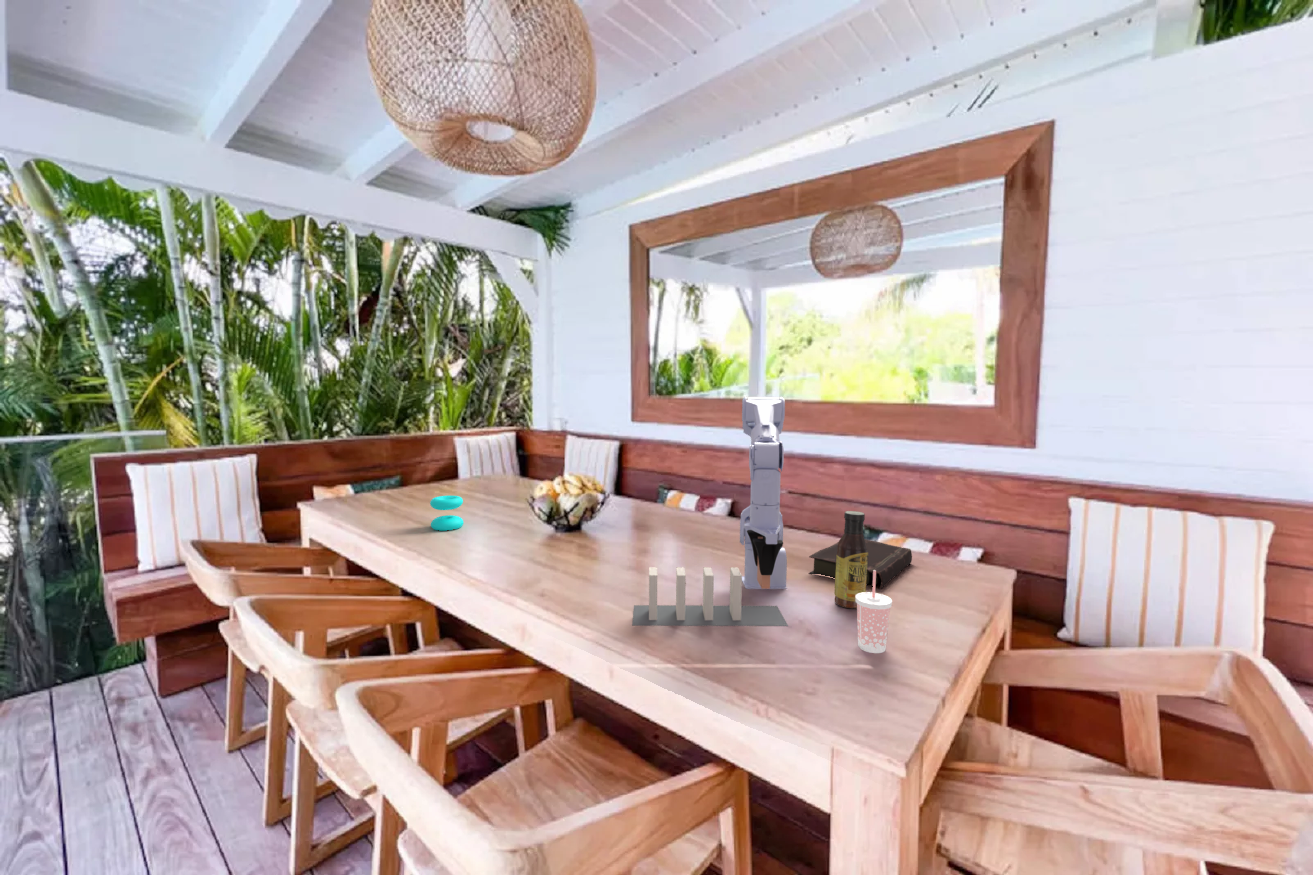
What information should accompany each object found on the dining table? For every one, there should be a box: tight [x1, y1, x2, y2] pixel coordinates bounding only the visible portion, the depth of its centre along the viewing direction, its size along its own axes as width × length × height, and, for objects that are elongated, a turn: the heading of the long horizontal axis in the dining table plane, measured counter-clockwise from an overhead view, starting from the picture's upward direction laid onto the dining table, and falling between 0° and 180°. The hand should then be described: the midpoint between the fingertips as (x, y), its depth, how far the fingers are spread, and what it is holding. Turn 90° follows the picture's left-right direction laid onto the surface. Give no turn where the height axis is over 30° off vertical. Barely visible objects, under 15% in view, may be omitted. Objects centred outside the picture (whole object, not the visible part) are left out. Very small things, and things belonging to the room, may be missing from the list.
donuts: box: [429, 495, 464, 532], centre depth 184 cm, size 10×10×10 cm
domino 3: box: [702, 567, 715, 620], centre depth 113 cm, size 2×5×9 cm, turn 0°
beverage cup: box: [855, 570, 893, 654], centre depth 100 cm, size 6×6×14 cm
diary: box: [808, 538, 913, 590], centre depth 145 cm, size 19×25×5 cm
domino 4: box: [729, 567, 743, 620], centre depth 114 cm, size 2×5×9 cm, turn 0°
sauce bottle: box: [833, 510, 868, 609], centre depth 120 cm, size 6×6×20 cm
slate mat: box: [631, 604, 789, 627], centre depth 114 cm, size 30×10×1 cm, turn 90°
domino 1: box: [648, 566, 658, 620], centre depth 113 cm, size 2×5×9 cm, turn 0°
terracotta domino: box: [757, 537, 771, 590], centre depth 113 cm, size 2×5×9 cm, turn 0°
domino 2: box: [675, 566, 686, 620], centre depth 113 cm, size 2×5×9 cm, turn 0°
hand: (763, 570), depth 113 cm, fingers closed on terracotta domino, 5 cm apart
